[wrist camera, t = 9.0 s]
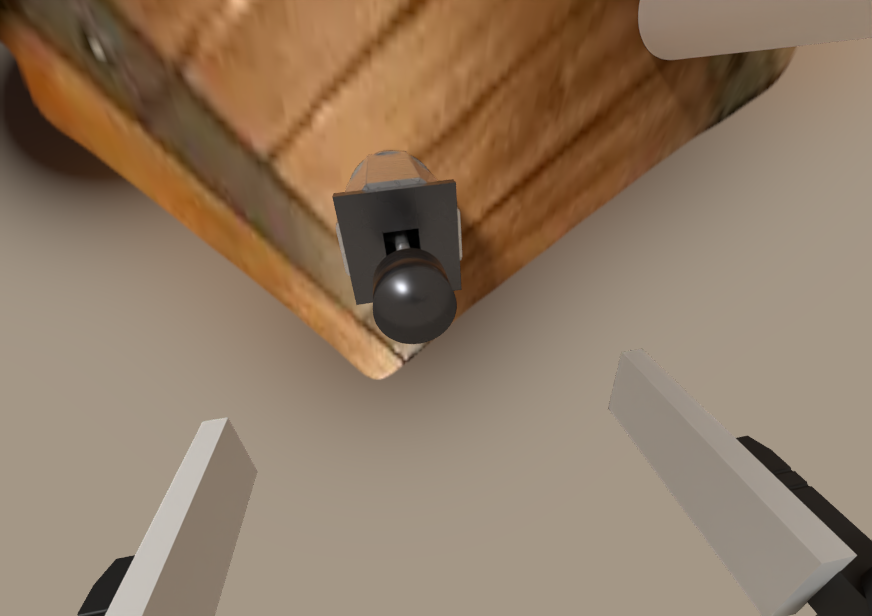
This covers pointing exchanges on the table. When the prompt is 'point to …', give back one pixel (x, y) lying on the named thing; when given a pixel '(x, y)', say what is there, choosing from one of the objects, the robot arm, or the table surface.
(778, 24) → the cylinder container
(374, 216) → the press carafe
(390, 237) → the plunger
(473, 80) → the table surface
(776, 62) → the table surface
